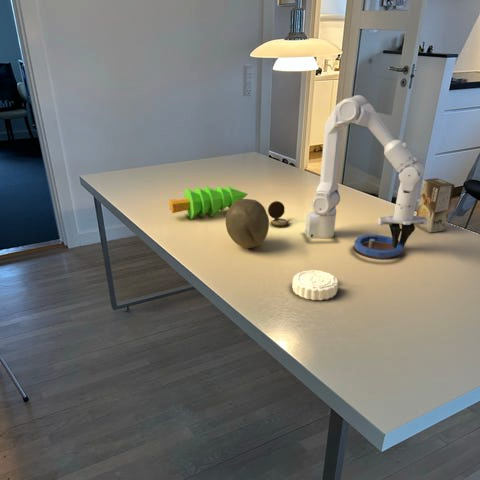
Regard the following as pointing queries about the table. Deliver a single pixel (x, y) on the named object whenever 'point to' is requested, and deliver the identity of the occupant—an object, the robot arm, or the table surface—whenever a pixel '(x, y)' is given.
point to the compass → (277, 214)
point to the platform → (377, 246)
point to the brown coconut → (247, 223)
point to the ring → (377, 253)
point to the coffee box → (435, 203)
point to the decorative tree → (206, 201)
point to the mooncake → (315, 285)
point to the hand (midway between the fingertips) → (397, 246)
